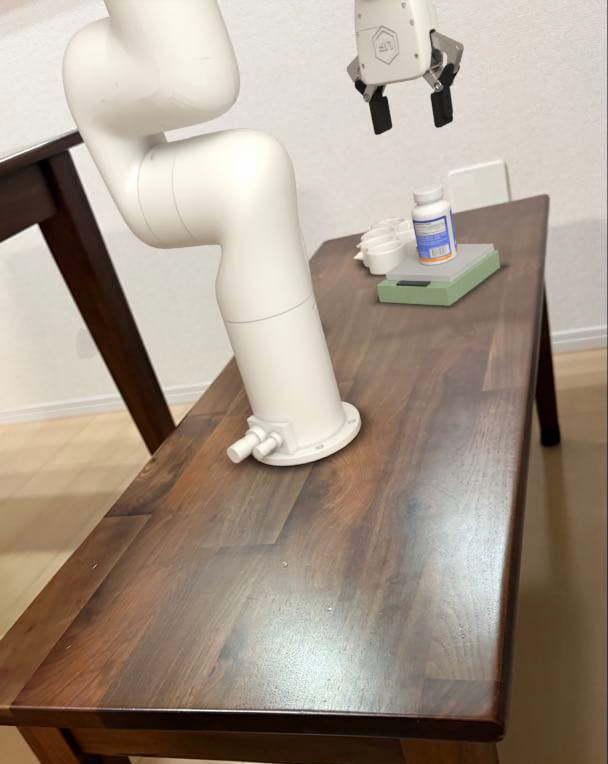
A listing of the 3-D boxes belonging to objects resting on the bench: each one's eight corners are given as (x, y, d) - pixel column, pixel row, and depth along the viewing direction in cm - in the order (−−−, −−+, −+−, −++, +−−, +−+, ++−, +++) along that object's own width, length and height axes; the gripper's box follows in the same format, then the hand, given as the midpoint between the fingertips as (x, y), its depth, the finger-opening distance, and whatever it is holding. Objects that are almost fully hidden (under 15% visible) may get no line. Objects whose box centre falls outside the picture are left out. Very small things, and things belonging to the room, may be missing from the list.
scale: (449, 305, 113) (445, 280, 111) (379, 302, 121) (374, 278, 119) (500, 267, 120) (497, 243, 118) (431, 266, 127) (427, 243, 125)
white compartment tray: (446, 261, 127) (352, 281, 131) (444, 226, 142) (359, 245, 145) (443, 239, 125) (347, 260, 129) (441, 206, 140) (355, 225, 143)
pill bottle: (433, 251, 122) (421, 182, 116) (465, 251, 118) (454, 179, 113) (412, 266, 119) (399, 196, 113) (445, 266, 115) (433, 194, 110)
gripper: (314, -6, 103) (344, 142, 112) (430, -38, 92) (453, 130, 101) (352, -18, 107) (378, 126, 116) (468, -50, 96) (486, 113, 105)
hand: (413, 128), depth 109 cm, fingers open, 9 cm apart
